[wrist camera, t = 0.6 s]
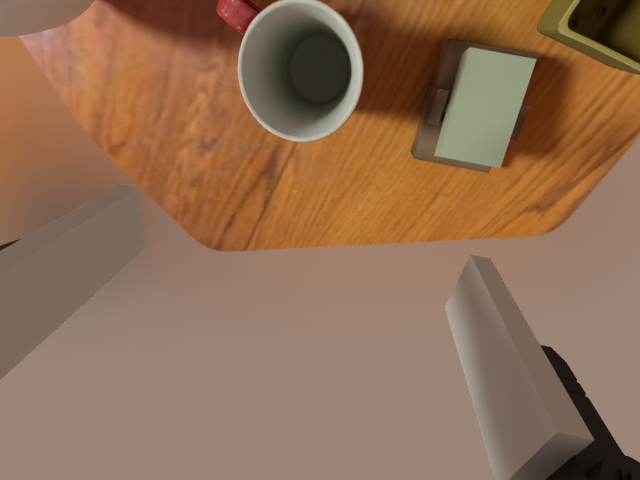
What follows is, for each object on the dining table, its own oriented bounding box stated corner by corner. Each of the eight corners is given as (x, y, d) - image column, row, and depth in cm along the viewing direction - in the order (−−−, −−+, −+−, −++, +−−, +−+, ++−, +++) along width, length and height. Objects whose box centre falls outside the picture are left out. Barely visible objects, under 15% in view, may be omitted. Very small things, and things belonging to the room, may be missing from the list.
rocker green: (462, 53, 29) (469, 47, 27) (524, 65, 29) (536, 59, 27) (434, 156, 31) (439, 156, 30) (491, 166, 31) (500, 167, 29)
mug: (383, 65, 33) (392, 69, 22) (325, 132, 37) (306, 166, 26) (288, -36, 30) (240, -95, 19) (236, 48, 34) (169, 44, 23)
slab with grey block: (441, 40, 32) (454, 37, 27) (527, 55, 31) (554, 54, 27) (408, 151, 37) (414, 164, 33) (481, 165, 37) (497, 180, 32)
